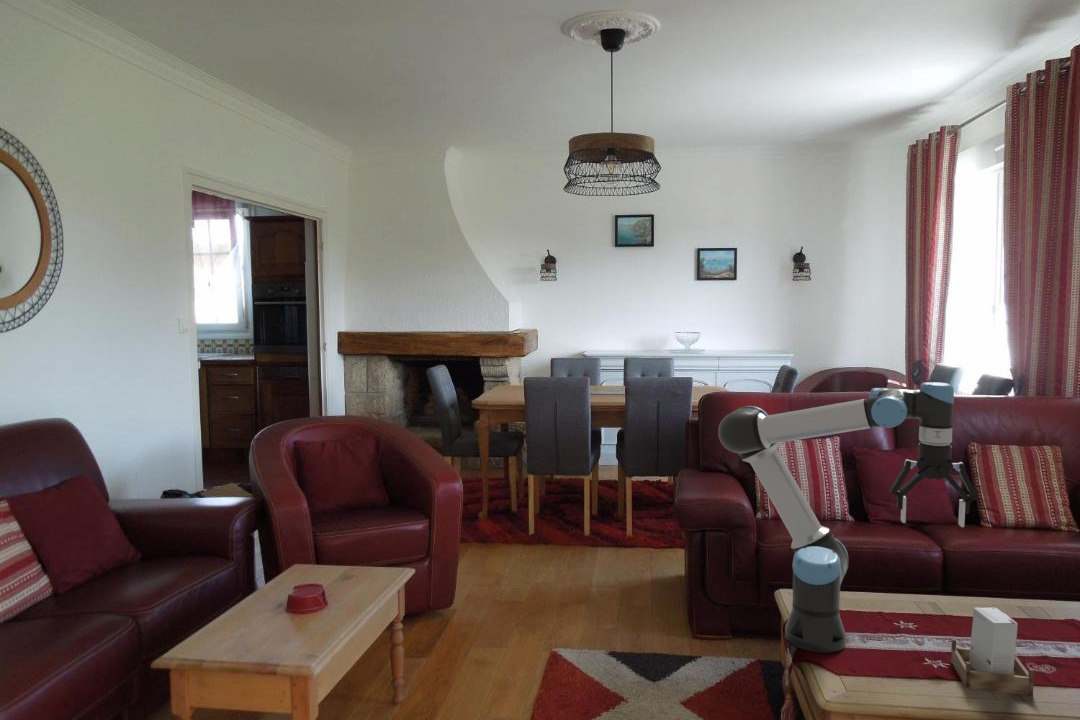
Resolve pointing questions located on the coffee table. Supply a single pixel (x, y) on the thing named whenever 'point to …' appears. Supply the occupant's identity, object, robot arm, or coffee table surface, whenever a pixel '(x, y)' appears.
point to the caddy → (991, 675)
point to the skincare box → (993, 641)
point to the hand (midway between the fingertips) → (931, 523)
